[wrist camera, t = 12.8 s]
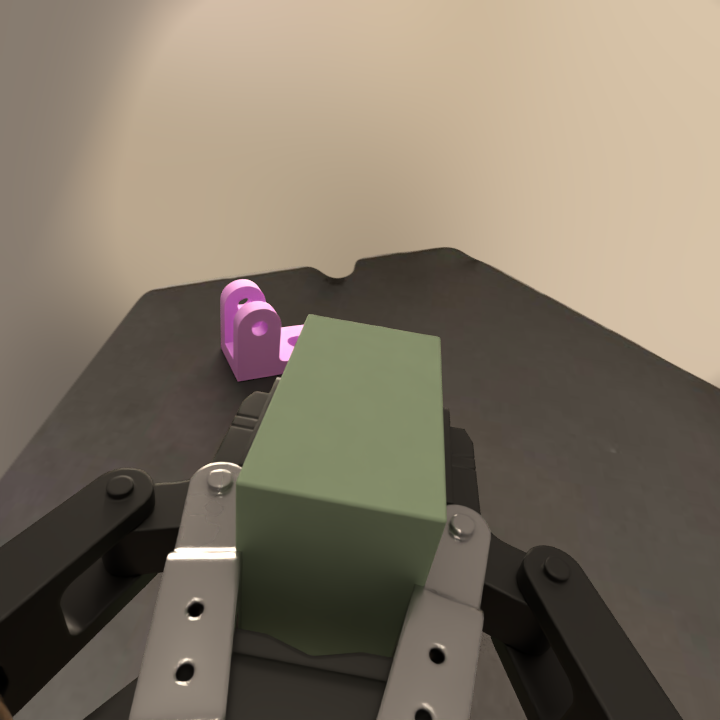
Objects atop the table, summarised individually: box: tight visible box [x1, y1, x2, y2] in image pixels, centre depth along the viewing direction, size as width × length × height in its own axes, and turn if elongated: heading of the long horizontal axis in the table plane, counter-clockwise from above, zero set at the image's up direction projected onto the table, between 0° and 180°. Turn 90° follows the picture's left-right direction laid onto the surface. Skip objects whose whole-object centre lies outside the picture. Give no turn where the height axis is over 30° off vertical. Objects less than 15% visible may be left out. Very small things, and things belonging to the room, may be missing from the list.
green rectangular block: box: [236, 315, 447, 657], centre depth 13 cm, size 6×4×9 cm, turn 173°
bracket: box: [220, 279, 304, 382], centre depth 47 cm, size 13×6×7 cm, turn 117°
